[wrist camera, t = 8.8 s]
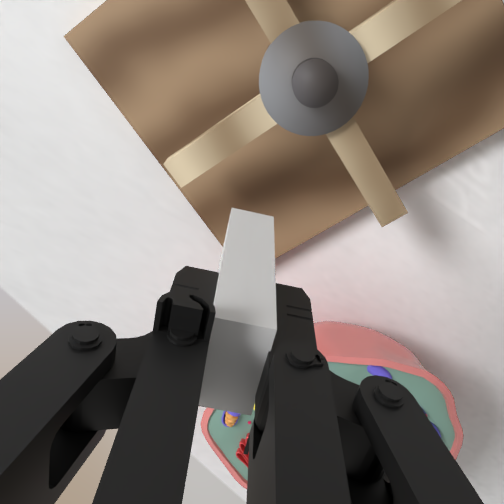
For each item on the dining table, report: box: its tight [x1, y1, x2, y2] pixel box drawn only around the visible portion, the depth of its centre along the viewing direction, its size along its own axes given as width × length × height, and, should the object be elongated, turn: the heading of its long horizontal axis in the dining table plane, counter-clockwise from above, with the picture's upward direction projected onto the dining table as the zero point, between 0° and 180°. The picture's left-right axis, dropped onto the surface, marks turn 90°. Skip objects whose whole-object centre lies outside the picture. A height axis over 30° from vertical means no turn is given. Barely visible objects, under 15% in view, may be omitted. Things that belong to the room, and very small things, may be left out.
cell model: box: [201, 321, 463, 489], centre depth 39 cm, size 17×20×11 cm
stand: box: [64, 0, 504, 259], centre depth 31 cm, size 21×24×4 cm
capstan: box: [163, 0, 462, 227], centre depth 27 cm, size 22×20×4 cm
